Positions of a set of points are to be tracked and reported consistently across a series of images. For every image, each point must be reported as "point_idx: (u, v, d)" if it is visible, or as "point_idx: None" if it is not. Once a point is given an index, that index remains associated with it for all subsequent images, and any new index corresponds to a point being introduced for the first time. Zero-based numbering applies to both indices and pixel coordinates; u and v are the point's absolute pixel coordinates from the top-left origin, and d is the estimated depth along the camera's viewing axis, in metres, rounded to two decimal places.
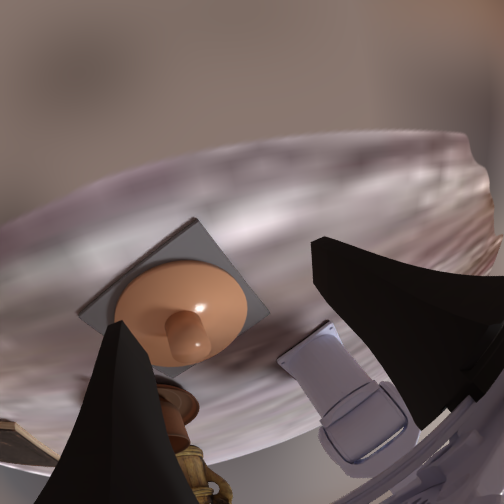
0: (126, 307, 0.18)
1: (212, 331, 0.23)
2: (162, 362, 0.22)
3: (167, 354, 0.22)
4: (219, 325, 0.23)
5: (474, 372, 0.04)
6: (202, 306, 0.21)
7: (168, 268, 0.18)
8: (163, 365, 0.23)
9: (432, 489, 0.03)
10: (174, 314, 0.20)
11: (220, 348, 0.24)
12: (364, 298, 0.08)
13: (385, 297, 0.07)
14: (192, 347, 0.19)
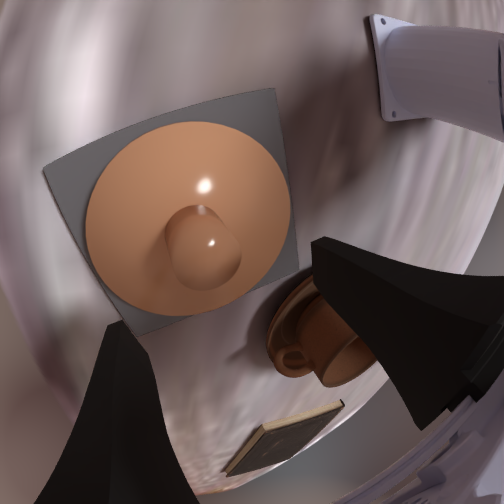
0: (129, 293, 0.14)
1: (235, 193, 0.14)
2: (251, 278, 0.17)
3: (240, 268, 0.16)
4: (229, 179, 0.13)
5: (474, 372, 0.04)
6: (172, 196, 0.12)
7: None
8: (258, 279, 0.17)
9: (432, 489, 0.03)
10: (165, 240, 0.13)
11: (282, 193, 0.15)
12: (364, 298, 0.08)
13: (385, 297, 0.07)
14: (202, 258, 0.11)
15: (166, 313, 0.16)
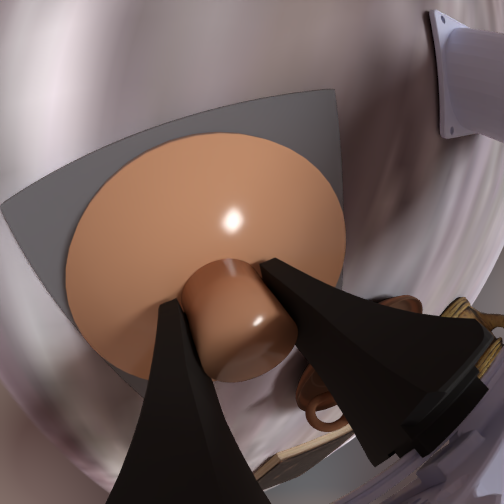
0: (136, 366, 0.10)
1: (280, 239, 0.10)
2: None
3: None
4: (274, 221, 0.09)
5: (419, 428, 0.04)
6: (192, 248, 0.08)
7: (67, 293, 0.07)
8: None
9: (432, 489, 0.03)
10: (182, 307, 0.09)
11: (338, 234, 0.11)
12: (309, 329, 0.07)
13: (325, 333, 0.06)
14: (244, 350, 0.07)
15: None
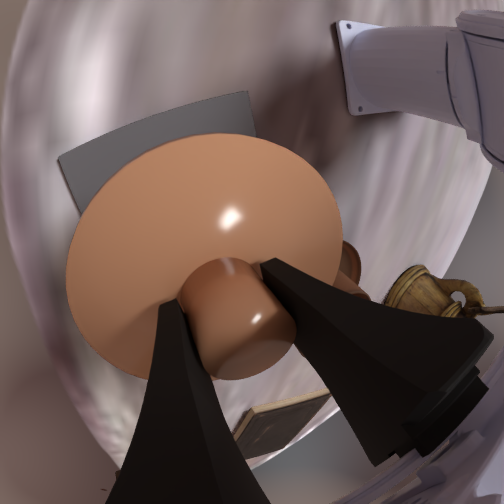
0: (136, 366, 0.10)
1: (278, 238, 0.10)
2: None
3: None
4: (272, 220, 0.09)
5: (419, 428, 0.04)
6: (191, 247, 0.09)
7: (67, 293, 0.07)
8: None
9: (432, 489, 0.03)
10: (181, 306, 0.09)
11: (335, 233, 0.11)
12: (309, 329, 0.07)
13: (326, 333, 0.06)
14: (243, 346, 0.08)
15: None
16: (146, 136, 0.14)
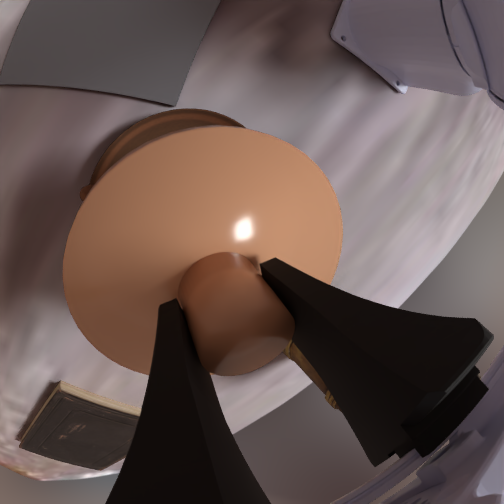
0: (131, 359, 0.10)
1: (278, 234, 0.10)
2: None
3: None
4: (273, 216, 0.09)
5: (419, 428, 0.04)
6: (191, 240, 0.08)
7: (63, 284, 0.07)
8: None
9: (432, 489, 0.03)
10: (179, 300, 0.09)
11: (335, 231, 0.11)
12: (309, 329, 0.07)
13: (325, 333, 0.06)
14: (242, 343, 0.08)
15: None
16: None
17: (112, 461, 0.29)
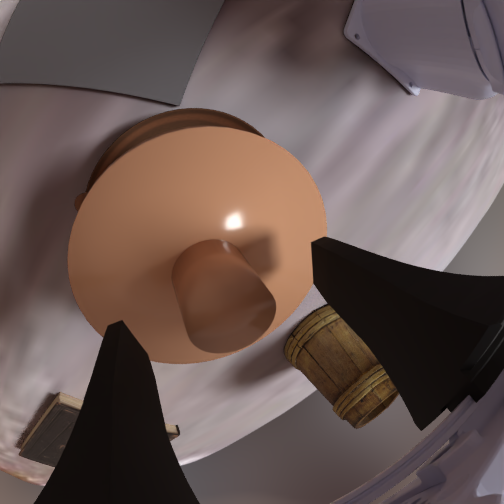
0: None
1: (263, 224, 0.11)
2: (275, 321, 0.14)
3: None
4: (257, 206, 0.10)
5: (474, 372, 0.04)
6: (182, 228, 0.09)
7: (68, 268, 0.08)
8: (282, 320, 0.14)
9: (432, 489, 0.03)
10: (172, 284, 0.10)
11: (318, 222, 0.12)
12: (365, 298, 0.08)
13: (385, 297, 0.07)
14: (225, 319, 0.08)
15: (173, 361, 0.12)
16: None
17: None
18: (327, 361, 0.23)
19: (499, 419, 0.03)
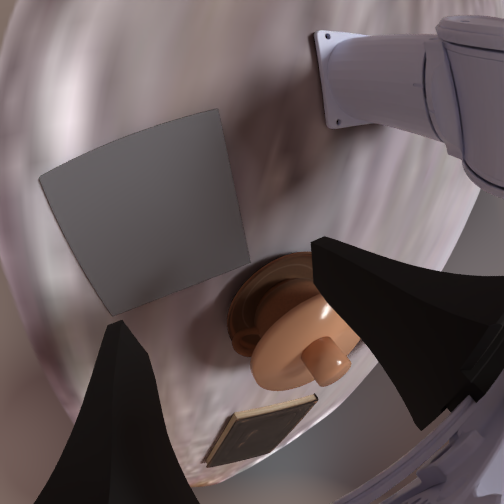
0: (288, 386, 0.23)
1: (334, 323, 0.20)
2: (354, 343, 0.24)
3: (346, 344, 0.23)
4: (329, 321, 0.20)
5: (474, 372, 0.04)
6: (300, 345, 0.20)
7: None
8: (357, 340, 0.24)
9: (432, 489, 0.03)
10: (302, 361, 0.21)
11: None
12: (364, 298, 0.08)
13: (385, 297, 0.07)
14: (332, 375, 0.19)
15: (310, 381, 0.24)
16: (119, 157, 0.14)
17: (278, 442, 0.47)
18: None
19: (499, 419, 0.03)
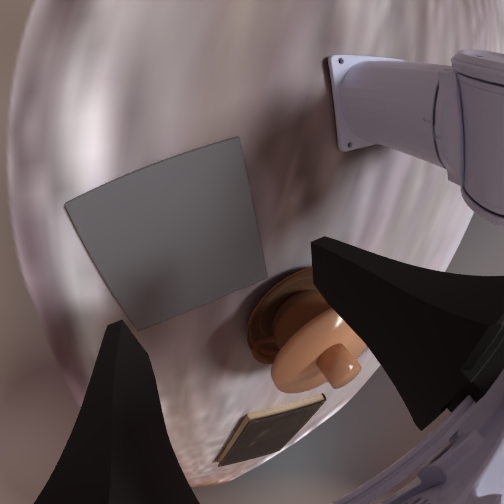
0: (302, 388, 0.24)
1: (346, 331, 0.22)
2: (362, 348, 0.25)
3: (355, 349, 0.25)
4: (342, 329, 0.21)
5: (474, 372, 0.04)
6: (316, 352, 0.21)
7: (275, 384, 0.22)
8: (366, 346, 0.25)
9: (432, 489, 0.03)
10: (317, 366, 0.23)
11: None
12: (364, 298, 0.08)
13: (385, 297, 0.07)
14: (344, 378, 0.20)
15: (322, 383, 0.26)
16: (145, 185, 0.16)
17: (287, 440, 0.49)
18: None
19: (499, 419, 0.03)
